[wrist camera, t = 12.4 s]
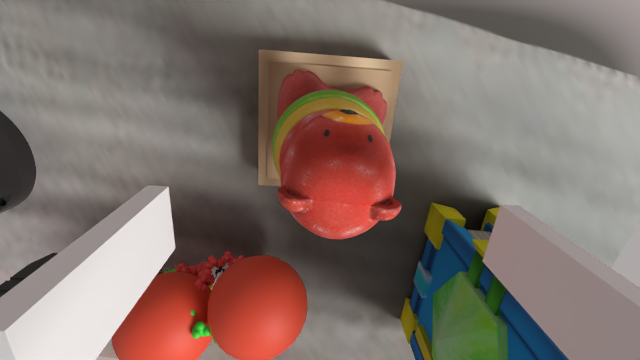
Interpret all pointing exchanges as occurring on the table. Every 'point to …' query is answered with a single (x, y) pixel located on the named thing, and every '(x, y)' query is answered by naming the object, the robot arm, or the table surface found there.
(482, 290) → the decorative book
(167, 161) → the table surface
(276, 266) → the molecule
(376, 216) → the stacking bear
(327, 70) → the oak stand
